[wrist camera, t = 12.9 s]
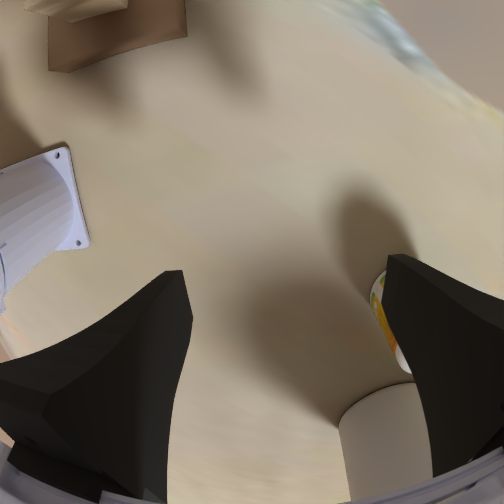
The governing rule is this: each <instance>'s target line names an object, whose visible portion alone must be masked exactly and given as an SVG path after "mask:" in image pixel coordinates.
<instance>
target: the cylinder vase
mask: <svg viewBox="0 0 504 504" xmlns="http://www.w3.org/2000/svg"><path fill="white" fill-rule="evenodd" d="M339 434H340V440H341V445H342V450H343V456H344V461H345V467H346V473H347V479H348V485H349V491H350V497H351V501H355V500H360V499H365V498H369V497H373V496H377V495H381V494H385V493H389V492H392V491H396V490H399V489H403V488H406V487H409V486H412V485H415V484H418V483H421V482H424V481H427V480H429V479H432V478H433V473H432V459H431V449H430V442H429V436H428V430H427V425H426V420H425V416H424V412H423V407H422V403H421V400H420V396H419V393H418V390H417V386H416V383H403V384H397V385H393V386H390V387H387V388H384V389H381V390H379V391H376V392H374V393H372V394H370V395H368V396H366V397H364V398H363V399H361V400H360V401H358V402H357V403H355V404H354V405H353V406H352V407H350V408H349V409H348V410H347V411H346V413H345V414H344V415H343V417H342V418H341V420H340V423H339ZM465 491H466V490H465ZM465 491H463V492H461V493H459V494H457V495H454V496H452V497H450V498H448V499H445V500H443V501H441V502H438V503H436V504H443V503H445V502H447V501H449V500H451V499H453V498H455V497H457V496H458V495H460V494H462V493H464V492H465Z"/></svg>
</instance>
